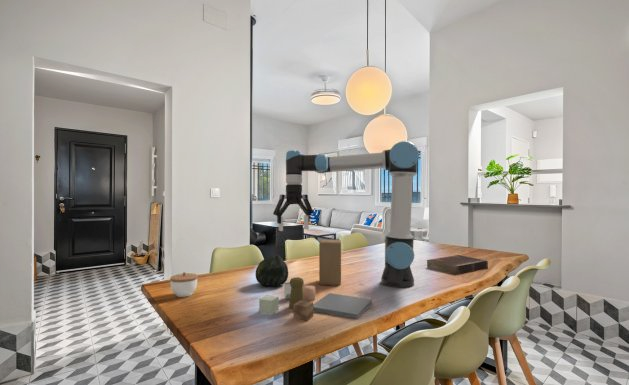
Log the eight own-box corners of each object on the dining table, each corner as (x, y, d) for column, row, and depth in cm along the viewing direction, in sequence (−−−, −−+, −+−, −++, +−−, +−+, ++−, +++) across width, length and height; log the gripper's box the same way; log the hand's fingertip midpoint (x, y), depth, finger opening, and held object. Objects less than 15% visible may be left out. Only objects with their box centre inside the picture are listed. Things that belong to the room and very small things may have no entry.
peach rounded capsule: (317, 298, 132) (317, 286, 132) (311, 302, 128) (311, 289, 128) (306, 297, 135) (306, 284, 135) (300, 300, 130) (300, 288, 130)
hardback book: (456, 275, 172) (456, 265, 172) (427, 268, 188) (427, 259, 188) (487, 268, 187) (487, 260, 187) (458, 263, 203) (458, 254, 203)
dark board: (372, 303, 127) (372, 299, 127) (357, 318, 111) (357, 314, 111) (329, 296, 135) (329, 293, 135) (310, 310, 119) (310, 306, 119)
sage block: (278, 310, 119) (278, 296, 119) (271, 315, 115) (271, 300, 115) (267, 308, 121) (267, 295, 121) (259, 312, 117) (259, 298, 117)
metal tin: (299, 297, 134) (299, 283, 134) (293, 301, 129) (293, 286, 129) (288, 296, 136) (288, 281, 136) (282, 299, 131) (282, 284, 131)
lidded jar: (191, 289, 145) (191, 268, 145) (202, 294, 138) (202, 272, 138) (166, 294, 138) (166, 272, 138) (176, 300, 130) (176, 277, 130)
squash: (251, 269, 159) (257, 250, 150) (281, 268, 165) (288, 249, 156) (256, 295, 149) (262, 276, 140) (287, 293, 155) (295, 274, 146)
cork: (288, 304, 125) (288, 276, 125) (304, 304, 125) (304, 275, 126) (288, 310, 119) (288, 280, 119) (305, 310, 119) (305, 279, 120)
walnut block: (313, 316, 113) (313, 302, 113) (306, 321, 109) (306, 306, 109) (300, 314, 115) (300, 300, 115) (293, 319, 111) (293, 304, 111)
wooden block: (341, 280, 161) (341, 239, 161) (340, 285, 151) (340, 242, 151) (320, 279, 162) (320, 239, 162) (319, 285, 152) (319, 242, 152)
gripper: (311, 184, 162) (311, 227, 162) (265, 183, 148) (265, 230, 148) (320, 184, 156) (320, 229, 156) (273, 183, 142) (273, 232, 142)
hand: (293, 230), depth 152 cm, fingers open, 13 cm apart
